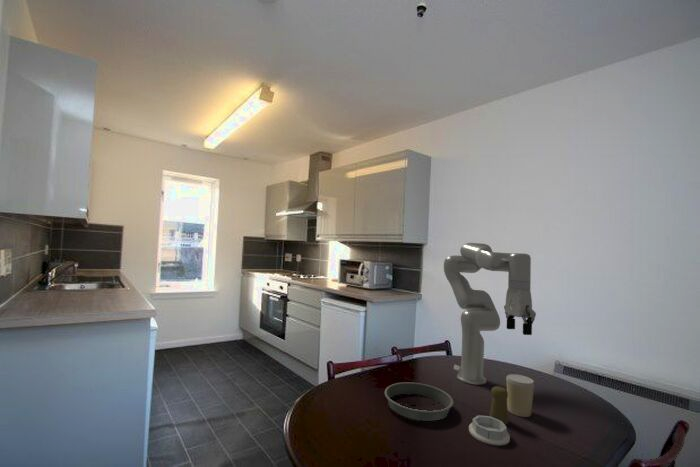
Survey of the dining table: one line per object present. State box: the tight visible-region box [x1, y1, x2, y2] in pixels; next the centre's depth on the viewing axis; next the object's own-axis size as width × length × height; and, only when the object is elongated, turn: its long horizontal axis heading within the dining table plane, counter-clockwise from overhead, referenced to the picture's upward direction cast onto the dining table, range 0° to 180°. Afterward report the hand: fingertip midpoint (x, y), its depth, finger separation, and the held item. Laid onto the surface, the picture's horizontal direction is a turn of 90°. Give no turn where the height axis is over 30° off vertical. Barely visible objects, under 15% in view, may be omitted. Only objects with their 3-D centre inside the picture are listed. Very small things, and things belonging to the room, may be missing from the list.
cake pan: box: [384, 381, 454, 421], centre depth 122 cm, size 25×25×4 cm
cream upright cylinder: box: [505, 373, 535, 418], centre depth 123 cm, size 9×9×12 cm
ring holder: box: [468, 414, 511, 447], centre depth 106 cm, size 12×12×4 cm
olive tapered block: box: [489, 385, 509, 426], centre depth 116 cm, size 6×6×11 cm
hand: (518, 331), depth 126 cm, fingers open, 9 cm apart
